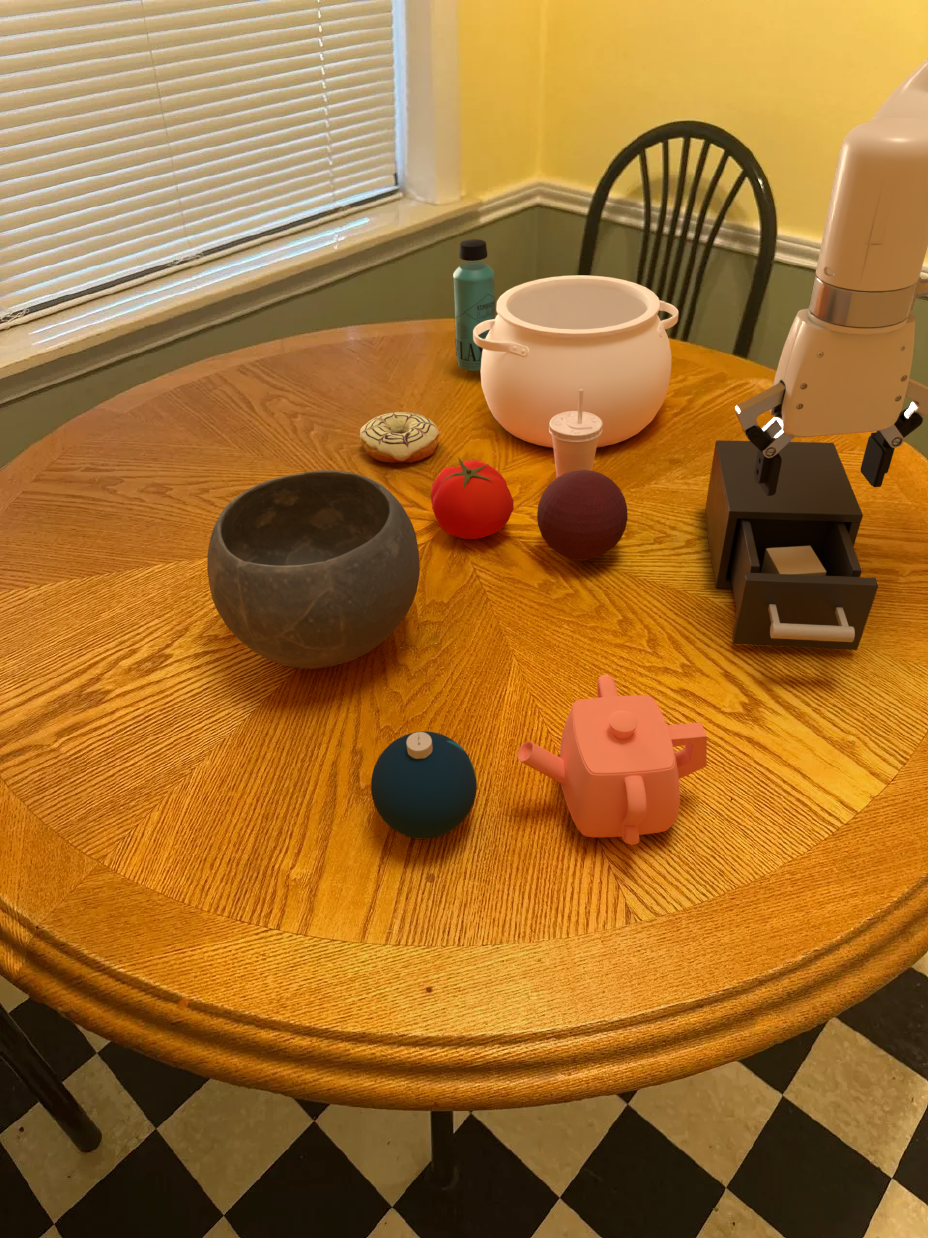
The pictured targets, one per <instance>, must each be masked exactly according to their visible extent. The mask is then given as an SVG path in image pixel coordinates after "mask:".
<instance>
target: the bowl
mask: <svg viewBox="0 0 928 1238" xmlns="http://www.w3.org/2000/svg"><path fill="white" fill-rule="evenodd" d="M418 544H419V543H418V539H417V534H416V531H415V528H414V525H413V523H412V520H411V519H410V516H409V514H408V512H407V511H406V509H405V508H404V506H403V504H402V503H401V502H400V501H399V499H397V498H396V497H395V495H394V494H393V493H392V492H391V491H390V490H389V489H387V487H385V486H384V485H383V484H381V483H379V482H378V481H376V480H374V479H372V478H371V477H367V476H364V475H362V474H359V473H355V472H352V471H345V470H339V469H319V470H318V469H317V470H310V471H304V472H300V473H293V474H288V475H284V476H279V477H274V478H271V479H268V480H266V481H263V482H261V483H258V484H256V485H254V486H252V487H250V488H248V489H246V490H244V491H242V492H241V493H240V494H238V495H237V496H236V497H235V498H233V499H232V500H230V502H229V503H228V504H226V506H225V507H224V508H223V510H222V511H221V513H220V514H219V516H218V518H217V520H216V521H215V524H214V526H213V529H212V531H211V535H210V539H209V544H208V547H207V548H208V549H207V556H206V557H207V562H206V565H207V570H206V571H207V578H208V585H209V591H210V593H211V594H210V595H211V599H212V602H213V605H214V608H215V609H216V611H217V613H218V615H219V616H220V618H221V619H222V621H223V622H224V624H225V625H226V627H227V629H228V630H229V631H230V632H231V633H232V634H233V635H234V636H235V638H237V639H238V640H239V641H240V642H241V643H242V644H243V645H245V646H246V647H247V648H249V649H250V650H251V651H252V652H254V653H255V654H257V655H259V656H261V657H263V658H264V659H266V660H268V661H271V662H272V663H275V664H278V665H282V666H285V667H290V668H296V669H305V670H306V669H308V670H310V669H313V670H314V669H315V670H316V669H325V668H331V667H335V666H339V665H342V664H346V663H349V662H351V661H355V660H357V659H358V658H361V657H362V656H364V655H366V654H368V653H370V652H372V651H373V650H374V649H376V648H377V647H378V646H380V645H381V644H382V643H384V642H385V641H386V640H387V639H388V638H390V636H391V635H393V633H394V632H395V631H396V630H397V628H398V627H399V626H400V625H401V623H402V622H403V621H404V619H405V618H406V616H407V614H408V613H409V611H410V609H411V607H412V605H413V603H414V600H415V597H416V594H417V592H418V586H419V580H420V551H419V545H418Z"/></svg>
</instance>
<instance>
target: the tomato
mask: <svg viewBox="0 0 928 1238" xmlns="http://www.w3.org/2000/svg"><path fill="white" fill-rule="evenodd" d="M457 459H458V462H459V464H460V465H459V466H446V467H444V468H443V469H442V470H441V472H440V473H439V474H438V475H437V477H436V478H435V479H434V481H433V482H432V483H431V484H432V485H431V489H430V494H429V495H430V501H431V509H432V512H433V514H434V517H435V519H436V522H437V524H438V526H439V528H441V529H442V530H443V531H444V532H445V533H446V534H448V535H450V536H451V537H455V538H460V539H464V540H478V539H482V538H485V537H489V536H491V535H494V534H496V533H497V532H499V531H501V530H502V529H503V528H504V527H505V526H506V524H507V523H508V522H509V520H510V519H511V516H512V514H513V512H514V507H515V506H514V499H513V496H512V493H511V491H510V488H509V486H508V485H507V481H506V479H505V478H504V476H503V475H502V474H501V473H500V472H499V471H498V470H497V469H495V468H494V467H493V466H491V465H490V464H489V463H485V462H482V461H481V460H477V459H472V460H466V461H464V462H463V461H462V460H461V458H460V457H458V456H457Z"/></svg>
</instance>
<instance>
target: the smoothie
mask: <svg viewBox="0 0 928 1238" xmlns="http://www.w3.org/2000/svg"><path fill="white" fill-rule="evenodd" d="M583 391H584V389H579V396H578V411H568V412H563V413H560V414H558V415H555V416H554V417H553V418H552V419H551V420H550V427H549V432H550V434H551V435H552V440H553V448H552V449H553V457H554V467H555V475H556V478H558V477H559V476H561V475H563V474H565V473H568V472H571V471H575V470H591V471H593V467H594V464H595V463H594V462H595V457H596V453H597V448H598V447H597V443H598V437H599V436H600V435H601V433H602V420H601V419H600V418H599V417H598V416H596V415H594V414H592V413H588V412H583Z"/></svg>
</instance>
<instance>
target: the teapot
mask: <svg viewBox="0 0 928 1238" xmlns="http://www.w3.org/2000/svg"><path fill="white" fill-rule="evenodd" d="M596 683H597V685H596V696H597V697H591V698H584V699H578V700H575V701H574V703H573V704H572V707H571V708H570V711H569V713H568V716H567V718H566V720H565V724H564V727H563V731H562V734H561V740H560V748H559V756H558V755H556V754H554V753H552V752H550V751H548V750H547V749H545V748H544V747H542V746H540V745H539V744H537V743H535V742H532V741H530V740H526V741H525V742H523V743H522V744H521V746H520V747H519V749H518V750H517V760H518V761H519V762H521V763H522V764H524V765H526V766H527V767H529V768H531V769H533V770H535V771H537V772H538V773H540V774H543V775H544V776H545V777H548V778H550V779H552V780H553V781H556V782H557V783H559V784H560V785H561V789H562V794H563V797H564V800H565V804H566V806H567V809H568V811H569V813H570V816H571V818H572V821H573V823H574V825H575V827H576V828H577V830H578V832H579V833H580V834H582V836H584V837H586V838H587V837H588V838H619V837H621V838H622V841H623V842H624V843H625V844H626V845H630V846H634V845H637V844H639V842H640V836H642V835H644V836H645V835H651V834H658V833H663V832H666V831H668V830H669V829H670V828H671V827H673V825H674V824H675V823H676V821H677V819H678V817H679V811H680V810H679V809H680V804H681V803H680V801H681V791H680V789H681V788H680V779H683V778H684V777H686V776H689V775H691V774H693V773H696V772H697V771H699V770H702V769H704V768H706V767H707V759H708V758H707V752H708V751H707V749H708V736H707V733H706V730H705V728H704V726H703V723H702V722H700V721H699V722H688V723H678V724H667V722H666V719H665V716H664V714H663V712H662V710H661V708H660V707H659V705H658V703H657V701H656V700H655V698H653V696H650V695H649V694H633V695H629V694H628V695H619V693H618V689H617V685H616V681H615V679H614V678H613V677H612V676H611V675H610V674H601V675H600V676H599V677H598V679H597V682H596ZM681 746H684V748H682V749H680V750H678V751H675V748H676V747H681Z"/></svg>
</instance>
